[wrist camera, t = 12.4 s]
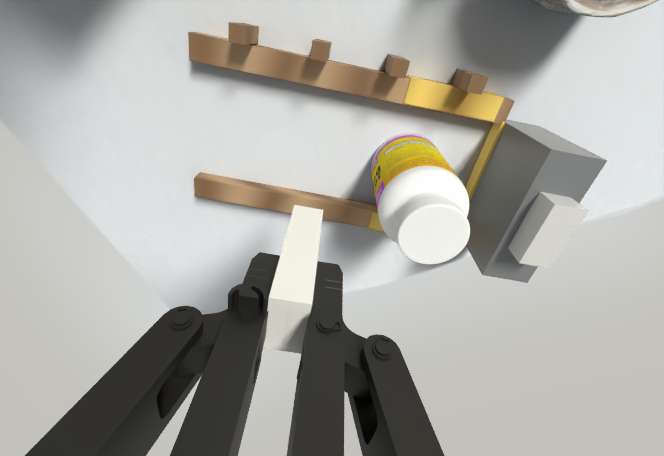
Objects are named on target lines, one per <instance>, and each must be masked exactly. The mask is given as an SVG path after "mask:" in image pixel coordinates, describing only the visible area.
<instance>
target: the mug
mask: <svg viewBox="0 0 664 456" xmlns="http://www.w3.org/2000/svg"><path fill="white" fill-rule="evenodd" d="M534 1H535V2H537V3H538V4H539V5H540V6H543V7H544V8H547V9H549V10H551V11H554V12H559V13H571V14H580V15H586V16H593V17H616V16H620V15H623V14H626V13H629V12H632V11H635V10H638V9H641V8H643V7H646V6H648V5H650V4H652V3H654V2H656V1H658V0H534Z"/></svg>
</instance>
